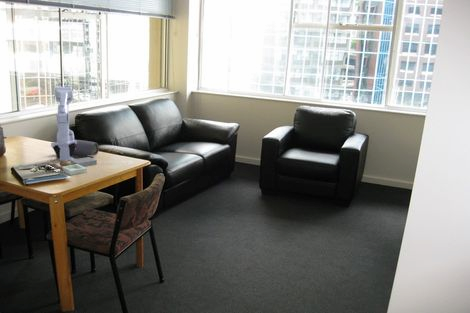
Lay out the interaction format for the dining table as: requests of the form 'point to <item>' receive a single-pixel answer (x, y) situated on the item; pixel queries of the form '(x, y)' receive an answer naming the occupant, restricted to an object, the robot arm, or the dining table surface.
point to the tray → (74, 169)
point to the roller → (64, 163)
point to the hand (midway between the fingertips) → (64, 157)
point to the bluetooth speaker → (85, 148)
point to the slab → (84, 161)
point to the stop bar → (53, 165)
